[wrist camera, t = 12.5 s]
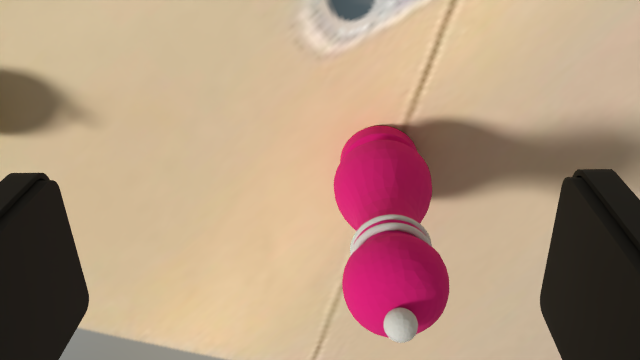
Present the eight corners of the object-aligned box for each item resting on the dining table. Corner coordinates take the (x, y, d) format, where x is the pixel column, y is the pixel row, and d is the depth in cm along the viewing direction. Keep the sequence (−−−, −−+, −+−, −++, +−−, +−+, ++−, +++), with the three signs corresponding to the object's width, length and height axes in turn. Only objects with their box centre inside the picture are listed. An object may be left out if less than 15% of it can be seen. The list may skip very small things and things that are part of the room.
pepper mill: (405, 104, 44) (447, 260, 27) (436, 180, 47) (493, 365, 30) (319, 139, 46) (307, 307, 28) (355, 210, 49) (363, 402, 31)
